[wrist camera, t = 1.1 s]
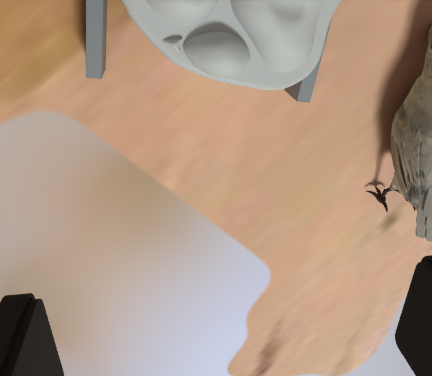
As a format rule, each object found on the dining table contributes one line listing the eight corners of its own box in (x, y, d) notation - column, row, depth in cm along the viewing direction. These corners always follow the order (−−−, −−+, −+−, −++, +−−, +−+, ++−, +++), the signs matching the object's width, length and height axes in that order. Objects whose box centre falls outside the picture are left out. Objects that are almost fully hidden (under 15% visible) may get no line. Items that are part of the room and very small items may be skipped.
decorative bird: (464, 20, 32) (543, 35, 26) (410, 195, 40) (460, 239, 33) (401, 19, 31) (467, 33, 25) (359, 197, 39) (401, 243, 33)
